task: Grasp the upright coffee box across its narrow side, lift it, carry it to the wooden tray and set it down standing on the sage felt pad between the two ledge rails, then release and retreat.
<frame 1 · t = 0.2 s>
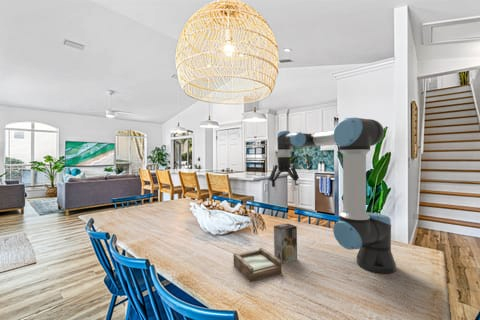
hand: (284, 191, 142), 28 cm above the table, fingers open, 13 cm apart
coffee box: (285, 259, 111), on the table
wooden tray: (256, 268, 102), on the table
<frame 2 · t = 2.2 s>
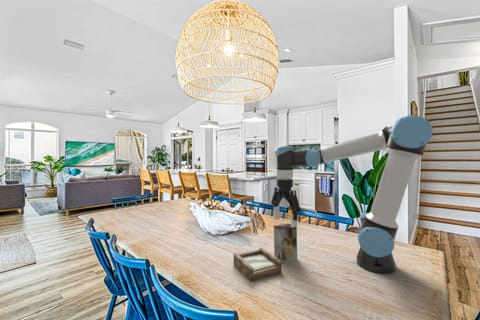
hand: (284, 223, 111), 17 cm above the table, fingers open, 13 cm apart
nothing on the table moved.
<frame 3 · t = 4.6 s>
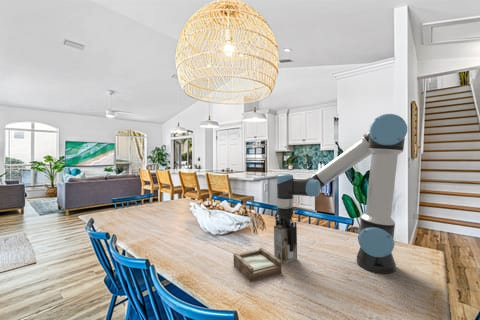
hand: (285, 254, 111), 2 cm above the table, fingers closed on coffee box, 6 cm apart
coffee box: (285, 259, 111), on the table, touching gripper
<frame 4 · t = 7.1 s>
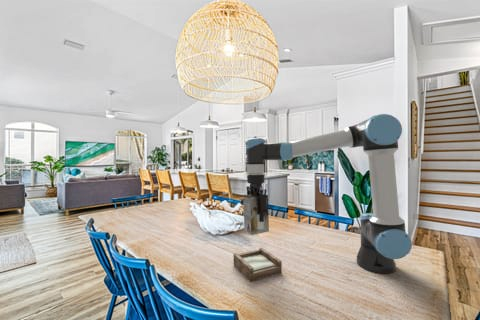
hand: (256, 226, 101), 19 cm above the table, fingers closed on coffee box, 6 cm apart
coffee box: (256, 232, 102), point 16 cm above the table, touching gripper
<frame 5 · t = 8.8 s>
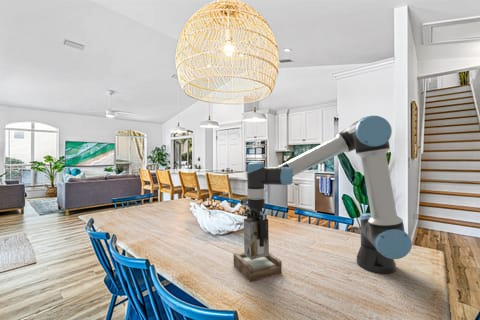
hand: (256, 250, 102), 8 cm above the table, fingers closed on coffee box, 6 cm apart
coffee box: (256, 255, 102), point 6 cm above the table, touching gripper
when the fingers open (6 cm above the table, at t = 10.0 s): coffee box stays where it is, resting on wooden tray.
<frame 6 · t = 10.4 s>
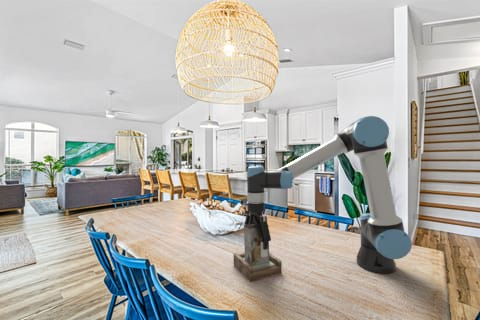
hand: (256, 250, 102), 8 cm above the table, fingers open, 12 cm apart
coffee box: (256, 261, 102), point 3 cm above the table, touching wooden tray
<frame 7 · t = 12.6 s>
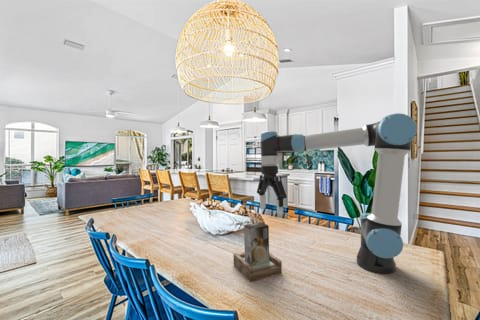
hand: (271, 211, 107), 24 cm above the table, fingers open, 13 cm apart
nothing on the table moved.
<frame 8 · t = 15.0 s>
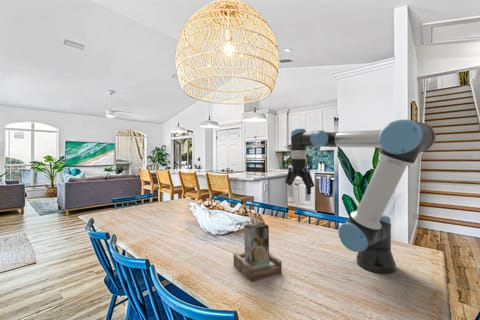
hand: (298, 198, 123), 27 cm above the table, fingers open, 13 cm apart
nothing on the table moved.
at the end: coffee box 0.1 cm from the wooden tray (horizontally); coffee box tilted 0°; coffee box touching wooden tray; the gripper is holding nothing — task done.
